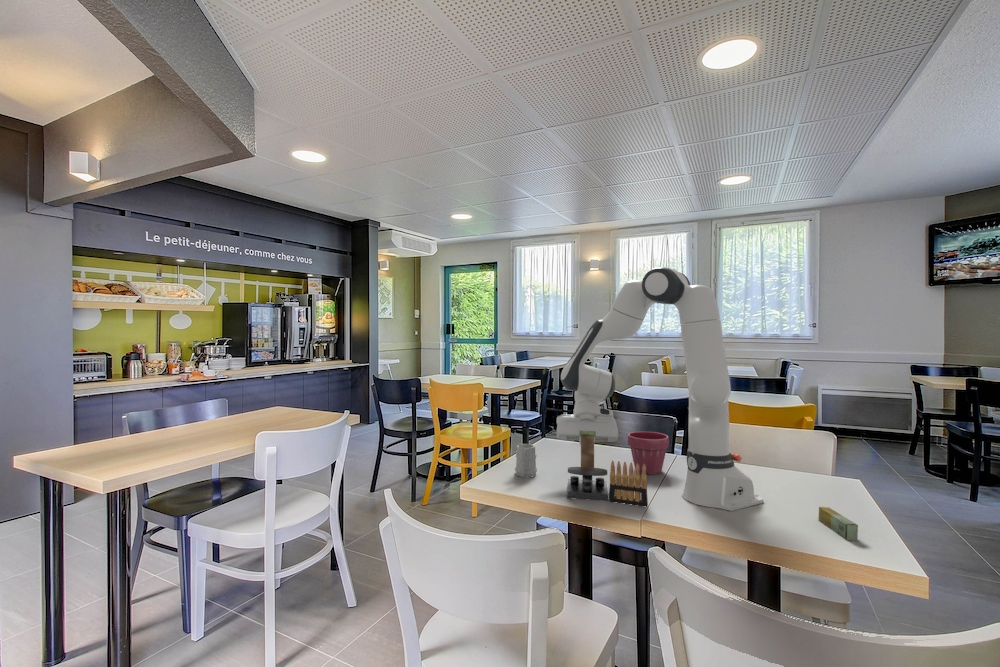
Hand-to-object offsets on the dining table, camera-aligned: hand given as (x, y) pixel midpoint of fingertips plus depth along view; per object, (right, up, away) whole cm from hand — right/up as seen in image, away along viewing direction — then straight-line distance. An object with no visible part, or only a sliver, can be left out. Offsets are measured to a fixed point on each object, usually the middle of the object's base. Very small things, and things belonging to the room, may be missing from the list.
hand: (587, 450), depth 147 cm
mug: (-20, -11, +9) cm, 25 cm away
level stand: (-1, -11, -7) cm, 13 cm away
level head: (-1, -5, -7) cm, 9 cm away
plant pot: (+25, -12, +17) cm, 32 cm away
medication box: (+56, -12, -33) cm, 66 cm away
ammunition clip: (+9, -11, -16) cm, 21 cm away
